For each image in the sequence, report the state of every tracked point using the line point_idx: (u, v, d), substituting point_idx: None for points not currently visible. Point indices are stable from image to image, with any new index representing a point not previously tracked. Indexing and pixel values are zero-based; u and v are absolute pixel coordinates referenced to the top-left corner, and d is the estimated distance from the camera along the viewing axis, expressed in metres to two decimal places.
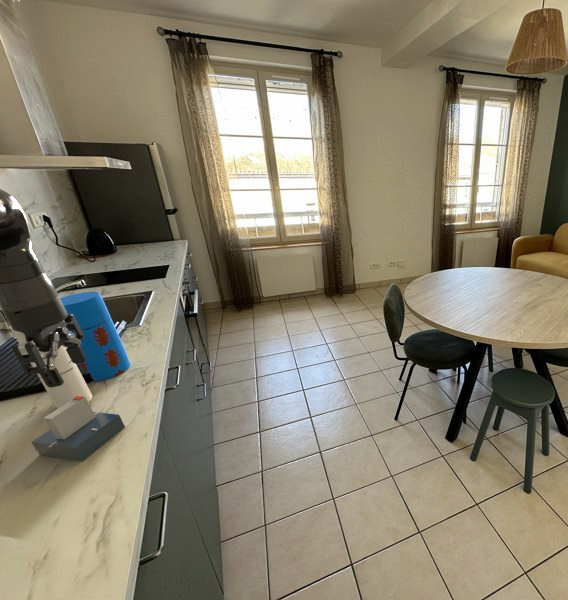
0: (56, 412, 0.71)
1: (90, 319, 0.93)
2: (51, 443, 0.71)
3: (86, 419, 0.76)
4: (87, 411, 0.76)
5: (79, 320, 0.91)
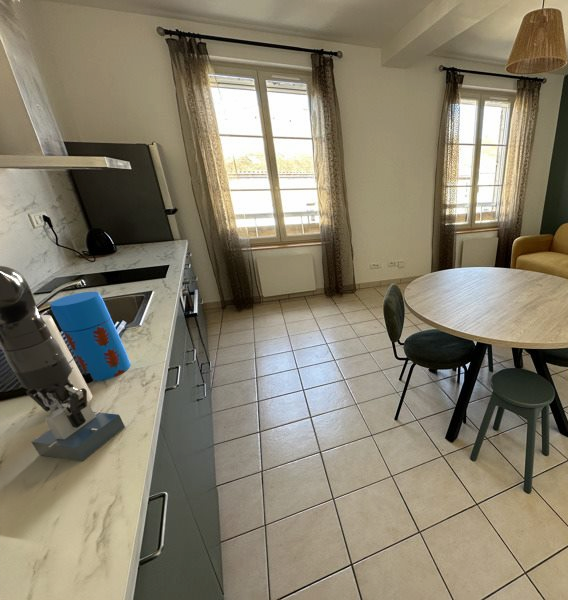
0: (56, 412, 0.71)
1: (90, 319, 0.93)
2: (51, 443, 0.71)
3: (86, 419, 0.76)
4: (87, 411, 0.76)
5: (79, 320, 0.91)
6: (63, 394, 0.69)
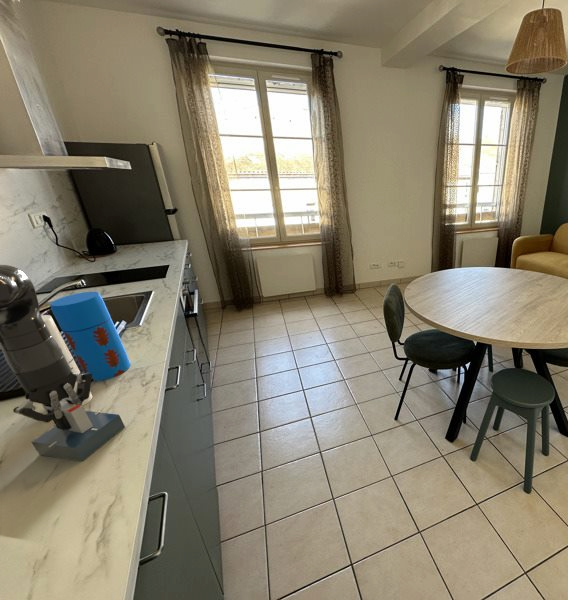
0: None
1: (90, 319, 0.93)
2: (51, 443, 0.71)
3: (74, 428, 0.73)
4: (74, 424, 0.73)
5: (79, 320, 0.91)
6: None
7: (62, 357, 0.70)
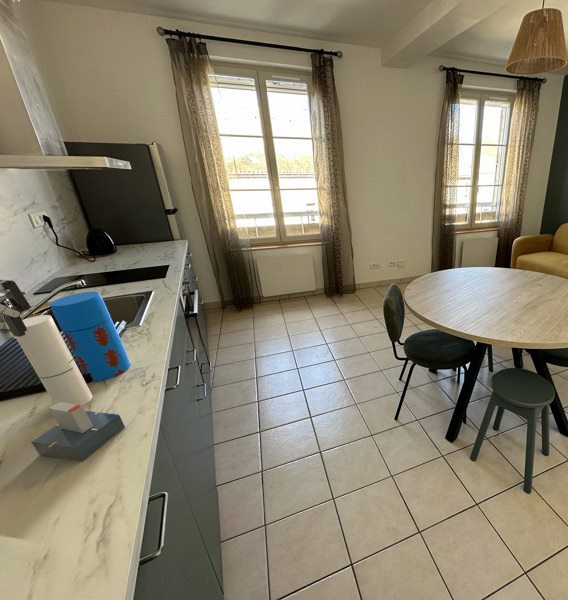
0: (60, 405, 0.73)
1: (90, 319, 0.93)
2: (51, 443, 0.71)
3: (74, 428, 0.73)
4: (74, 424, 0.73)
5: (79, 320, 0.91)
6: None
7: None
